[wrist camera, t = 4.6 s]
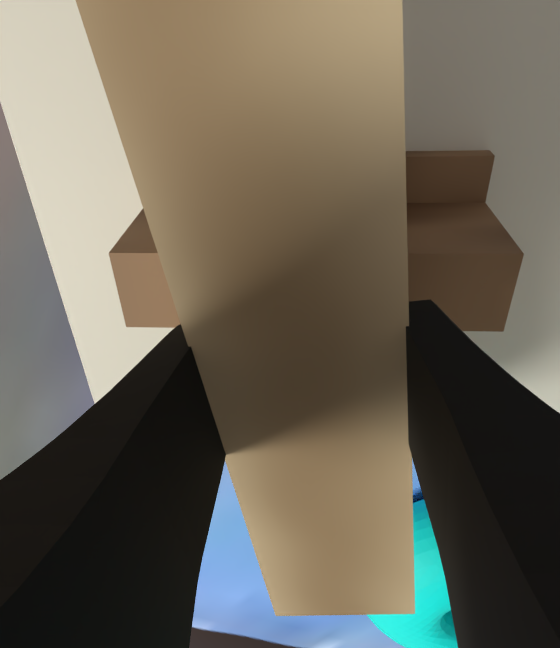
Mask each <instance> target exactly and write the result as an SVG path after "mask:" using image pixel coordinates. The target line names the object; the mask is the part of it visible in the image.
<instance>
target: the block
mask: <svg viewBox="0 0 560 648" xmlns="http://www.w3.org/2000/svg"><path fill="white" fill-rule="evenodd" d="M405 152H406V200H407V248H408V296H409V301H419V300H429V299H431V300H432V301H433V302H434V303H435V304H437V306H438V307H439V308H440V309H441V310H442V311H443V312H444V313H445V314H446V315H447V316H448V317H449V318H450V319H451V320H452V321H453V322H454V323H455V324H456V325H457V326H458V327H459V328H460V329H461V330H462V331H493V332H504V328H505V324H506V320H507V316H508V313H509V309H510V305H511V301H512V297H513V294H514V290H515V286H516V282H517V278H518V275H519V271H520V267H521V263H522V259H523V256H524V253H523V252H522V251H521V249H520V248H519V247H518V245H517V244H516V243H515V241H514V240H513V239H512V237H511V236H510V235H509V233H508V232H507V231H506V229H505V228H504V227H503V225H502V224H501V223H500V221H499V220H498V219H497V217H496V216H495V215H494V213H493V212H492V211H491V209H490V208H489V207H488V205H487V204H486V203H485V202H486V197H487V192H488V187H489V183H490V178H491V173H492V168H493V163H494V158H495V155H494V154H493V153H492V152H491V151H490V150H462V151H405ZM109 257H110V261H111V266H112V270H113V274H114V278H115V282H116V287H117V291H118V295H119V299H120V303H121V308H122V312H123V316H124V320H125V324H126V327H157V328H175V327H176V326H178V325H180V324H181V323H180V320H179V317H178V314H177V311H176V308H175V304H174V301H173V298H172V295H171V292H170V289H169V286H168V283H167V280H166V277H165V274H164V271H163V268H162V265H161V261H160V258H159V255H158V252H157V249H156V246H155V243H154V240H153V237H152V234H151V231H150V228H149V225H148V222H147V218H146V215H145V212H144V209H142V210H141V212H140V213H139V214H138V215H137V217H136V218H135V219H134V221H133V222H132V223H131V225H130V226H129V227H128V228H127V230H126V231H125V232H124V234H123V235H122V236H121V238H120V239H119V240H118V241H117V243H116V244H115V245H114V247H113V248H112V249H111V251H110V252H109Z"/></svg>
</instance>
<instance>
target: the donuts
mask: <svg viewBox="0 0 560 648" xmlns="http://www.w3.org/2000/svg"><path fill="white" fill-rule="evenodd" d="M413 536H414V585H415V614H374V615H367V616H368V617H369V618H370V619H371V621H372V622H373V623H374V624H375V625H376V626H377V628H378V629H380V630H381V631H382V632H383V633H384V634H386V635H387V636H388V637H389V638H391V639H392V640H394V641H395V642H397V643H398V644H400V645H402V646H404V647H406V648H458V645H457V639H456V634H455V628H454V623H453V618H452V612H451V607H450V602H449V596H448V591H447V585H446V580H445V575H444V571H443V567H442V563H441V558H440V554H439V550H438V546H437V543H436V539H435V536H434V532H433V529H432V525H431V522H430V518H429V515H428V511H427V508H426V504H425V501H424V499H423V500H420V501H417V502H414V503H413Z"/></svg>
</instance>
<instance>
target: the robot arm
mask: <svg viewBox="0 0 560 648" xmlns="http://www.w3.org/2000/svg"><path fill="white" fill-rule="evenodd" d="M406 360H407V402H408V443H409V447H410V451H411V455H412V458H413V462H414V465H415V469H416V472H417V476H418V480H419V483H420V487H421V490H422V494H423V497H424V501H425V504H426V508H427V511H428V515H429V518H430V522H431V525H432V529H433V532H434V536H435V539H436V543H437V546H438V550H439V554H440V558H441V563H442V567H443V571H444V575H445V580H446V585H447V591H448V596H449V602H450V607H451V612H452V618H453V623H454V628H455V634H456V639H457V645H458V648H560V413H559V412H557V411H556V410H554V409H553V408H552V407H550V406H549V405H548V404H546V403H545V402H544V401H542V400H541V399H540V398H538V397H537V396H536V395H535V394H533V393H532V392H531V391H530V390H528V389H527V388H526V387H525V386H523V385H522V384H521V383H519V382H518V381H517V380H516V379H515V378H514V377H512V376H511V375H510V374H509V373H508V372H506V371H505V370H504V369H503V368H502V367H501V366H500V365H498V364H497V363H496V362H495V361H494V360H493V359H492V358H491V357H489V356H488V355H487V354H486V353H485V352H484V351H483V350H482V349H481V348H479V347H478V346H477V345H476V344H475V343H474V342H473V341H472V340H471V339H470V338H469V337H468V336H467V335H466V334H465V333H464V332H463V331H462V330H461V329H460V328H459V327H458V326H457V325H456V324H455V323H454V322H453V321H452V320H451V319H450V318H449V317H448V316H447V315H446V314H445V313H444V312H443V311H442V310H441V309H440V308H439V307H438V306H437V304H435V303H434V302H433V301H432V300H431V299H429V300H419V301H409V326H406ZM225 457H226V453H225V450H224V447H223V444H222V441H221V438H220V435H219V432H218V428H217V425H216V422H215V419H214V416H213V413H212V410H211V407H210V404H209V401H208V398H207V394H206V391H205V388H204V385H203V382H202V379H201V376H200V373H199V370H198V367H197V363H196V360H195V357H194V354H193V351H192V348H191V346H190V347H188V344H187V341H186V338H185V335H184V332H183V329H182V326H181V324H180V325H178V326H176V327H175V328H174V329H173V330H172V331H171V332H169V333H168V334H167V335H166V336H165V337H164V338H163V339H162V340H161V341H160V342H159V343H158V344H157V345H156V346H155V347H154V348H153V349H152V350H151V351H150V352H149V353H148V354H147V355H146V356H145V357H144V358H143V359H142V360H141V361H140V362H139V363H138V364H137V365H136V366H135V367H134V368H133V369H132V370H131V371H130V372H128V373H127V374H126V375H125V376H124V377H123V378H122V379H121V380H120V381H119V382H118V383H117V384H116V385H115V386H114V387H113V388H112V389H111V390H110V391H109V392H108V393H107V394H105V395H104V396H103V397H102V398H101V399H100V400H99V401H98V402H96V403H95V404H94V405H93V406H92V407H91V408H90V409H89V410H87V411H86V412H85V413H84V414H83V415H82V416H81V417H80V418H78V419H77V420H76V421H75V422H74V423H73V424H72V425H71V426H69V427H68V428H67V429H66V430H65V431H64V432H62V433H61V434H60V435H59V436H58V437H56V438H55V439H54V440H53V441H51V442H50V443H49V444H48V445H46V446H45V447H44V448H43V449H41V450H40V451H39V452H38V453H36V454H35V455H34V456H32V457H31V458H30V459H28V460H27V461H26V462H24V463H23V464H22V465H20V466H19V467H18V468H16V469H15V470H14V471H12V472H11V473H10V474H8V475H7V476H5V477H4V478H3V479H1V480H0V648H189V643H190V635H191V628H192V620H193V613H194V605H195V597H196V590H197V583H198V577H199V572H200V567H201V562H202V556H203V552H204V548H205V544H206V539H207V535H208V531H209V527H210V522H211V518H212V514H213V510H214V505H215V501H216V497H217V493H218V488H219V484H220V480H221V475H222V471H223V466H224V462H225Z"/></svg>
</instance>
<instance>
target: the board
mask: <svg viewBox="0 0 560 648" xmlns="http://www.w3.org/2000/svg"><path fill="white" fill-rule="evenodd" d="M402 8H403V56H404V104H405V151H462V150H490V151H491V152H492V153H493V154H494V155H495V158H494V163H493V168H492V173H491V178H490V183H489V187H488V192H487V197H486V202H485V203H486V204H487V205H488V207H489V208H490V209H491V211H492V212H493V213H494V215H495V216H496V217H497V219H498V220H499V221H500V223H501V224H502V225H503V227H504V228H505V229H506V231H507V232H508V233H509V235H510V236H511V237H512V239H513V240H514V241H515V243H516V244H517V245H518V247H519V248H520V249H521V251H522V252H523V253H524V256H523V259H522V263H521V267H520V271H519V275H518V278H517V282H516V286H515V290H514V294H513V297H512V301H511V305H510V309H509V313H508V316H507V320H506V324H505V328H504V332H493V331H463V332H464V333H465V334H466V335H467V336H468V337H469V338H470V339H471V340H472V341H473V342H474V343H475V344H476V345H477V346H478V347H479V348H481V349H482V350H483V351H484V352H485V353H486V354H487V355H488V356H489V357H491V358H492V359H493V360H494V361H495V362H496V363H497V364H498V365H500V366H501V367H502V368H503V369H504V370H505V371H506V372H508V373H509V374H510V375H511V376H512V377H514V378H515V379H516V380H517V381H518V382H519V383H521V384H522V385H523V386H525V387H526V388H527V389H528V390H530V391H531V392H532V393H533V394H535V395H536V396H537V397H538V398H540V399H541V400H542V401H544V402H545V403H546V404H548V405H549V406H550V407H552V408H553V409H554V410H556V411H557V412H559V413H560V0H402ZM0 102H1V105H2V108H3V111H4V115H5V118H6V121H7V124H8V127H9V131H10V134H11V137H12V140H13V143H14V147H15V150H16V153H17V156H18V160H19V163H20V166H21V169H22V172H23V176H24V179H25V182H26V185H27V188H28V192H29V195H30V198H31V201H32V204H33V208H34V211H35V214H36V217H37V220H38V224H39V227H40V230H41V233H42V236H43V240H44V243H45V246H46V249H47V252H48V256H49V259H50V262H51V265H52V268H53V272H54V275H55V278H56V281H57V284H58V288H59V291H60V294H61V297H62V300H63V304H64V307H65V310H66V313H67V316H68V320H69V323H70V326H71V329H72V332H73V336H74V339H75V342H76V345H77V348H78V352H79V355H80V358H81V361H82V364H83V368H84V371H85V374H86V377H87V380H88V384H89V387H90V390H91V393H92V397H93V400H94V403H96V402H98V401H99V400H100V399H101V398H102V397H103V396H104V395H105V394H107V393H108V392H109V391H110V390H111V389H112V388H113V387H114V386H115V385H116V384H117V383H118V382H119V381H120V380H121V379H122V378H123V377H124V376H125V375H126V374H127V373H128V372H130V371H131V370H132V369H133V368H134V367H135V366H136V365H137V364H138V363H139V362H140V361H141V360H142V359H143V358H144V357H145V356H146V355H147V354H148V353H149V352H150V351H151V350H152V349H153V348H154V347H155V346H156V345H157V344H158V343H159V342H160V341H161V340H162V339H163V338H164V337H165V336H166V335H167V334H168V333H169V332H171V331H172V330H173V329H174V328H157V327H126V324H125V320H124V316H123V312H122V308H121V303H120V299H119V295H118V291H117V287H116V282H115V278H114V274H113V270H112V266H111V261H110V257H109V252H110V251H111V249H112V248H113V247H114V245H115V244H116V243H117V241H118V240H119V239H120V238H121V236H122V235H123V234H124V232H125V231H126V230H127V228H128V227H129V226H130V225H131V223H132V222H133V221H134V219H135V218H136V217H137V215H138V214H139V213H140V212H141V210H142V209H143V206H142V203H141V200H140V197H139V194H138V191H137V188H136V185H135V182H134V179H133V175H132V172H131V169H130V166H129V163H128V160H127V157H126V154H125V151H124V148H123V145H122V142H121V139H120V136H119V132H118V129H117V126H116V123H115V120H114V117H113V114H112V111H111V108H110V105H109V102H108V99H107V96H106V93H105V89H104V86H103V83H102V80H101V77H100V74H99V71H98V68H97V65H96V62H95V59H94V56H93V53H92V50H91V46H90V43H89V40H88V37H87V34H86V31H85V28H84V25H83V22H82V19H81V16H80V13H79V10H78V7H77V3H76V0H0Z"/></svg>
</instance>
